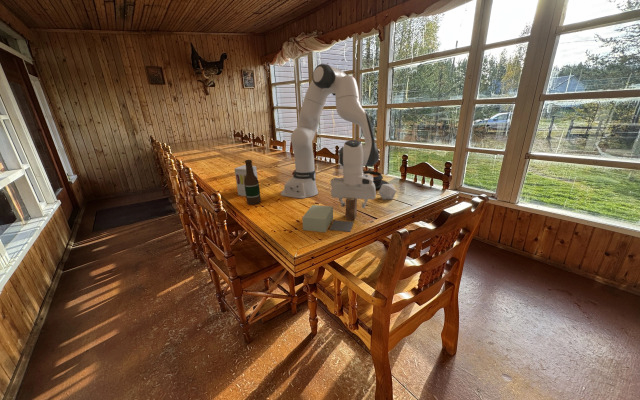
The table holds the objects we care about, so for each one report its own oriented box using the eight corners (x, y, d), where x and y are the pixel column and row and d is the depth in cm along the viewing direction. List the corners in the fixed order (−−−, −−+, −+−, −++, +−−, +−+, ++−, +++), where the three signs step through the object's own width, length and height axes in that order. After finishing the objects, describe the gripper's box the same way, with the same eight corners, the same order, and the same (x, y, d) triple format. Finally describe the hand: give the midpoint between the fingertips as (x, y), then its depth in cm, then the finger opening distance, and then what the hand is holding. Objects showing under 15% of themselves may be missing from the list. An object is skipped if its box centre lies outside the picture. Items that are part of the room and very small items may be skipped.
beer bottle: (248, 200, 146) (242, 159, 138) (262, 199, 147) (256, 158, 138) (245, 205, 139) (239, 162, 131) (260, 204, 140) (254, 161, 131)
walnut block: (345, 220, 118) (345, 199, 114) (348, 213, 124) (348, 194, 121) (354, 220, 117) (354, 199, 113) (356, 214, 123) (357, 194, 119)
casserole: (353, 193, 151) (353, 179, 148) (345, 184, 169) (345, 171, 166) (393, 189, 155) (394, 176, 152) (381, 181, 172) (382, 168, 169)
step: (303, 229, 110) (302, 217, 108) (313, 216, 123) (312, 205, 121) (325, 232, 108) (325, 219, 105) (333, 218, 120) (333, 206, 118)
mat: (329, 229, 110) (329, 229, 109) (334, 220, 118) (334, 220, 117) (350, 232, 107) (350, 231, 107) (353, 222, 115) (353, 221, 115)
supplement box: (237, 195, 155) (233, 168, 149) (247, 190, 163) (243, 164, 157) (250, 197, 152) (246, 169, 146) (259, 192, 160) (256, 165, 154)
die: (392, 203, 136) (401, 187, 136) (377, 195, 136) (386, 179, 136) (387, 203, 144) (396, 188, 144) (374, 195, 144) (382, 180, 144)
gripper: (328, 179, 114) (329, 208, 119) (375, 180, 109) (374, 210, 114) (331, 175, 120) (332, 203, 125) (376, 176, 114) (375, 205, 119)
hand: (353, 206), depth 119 cm, fingers open, 8 cm apart
